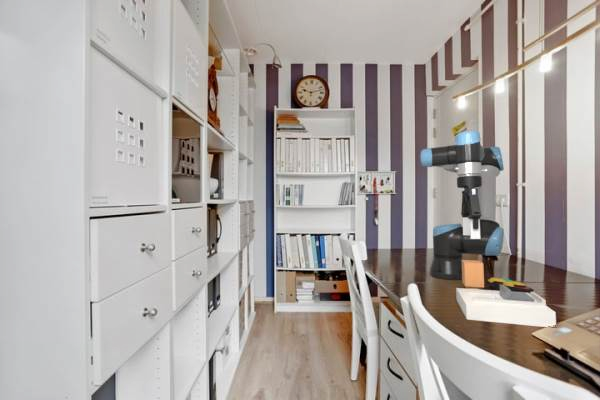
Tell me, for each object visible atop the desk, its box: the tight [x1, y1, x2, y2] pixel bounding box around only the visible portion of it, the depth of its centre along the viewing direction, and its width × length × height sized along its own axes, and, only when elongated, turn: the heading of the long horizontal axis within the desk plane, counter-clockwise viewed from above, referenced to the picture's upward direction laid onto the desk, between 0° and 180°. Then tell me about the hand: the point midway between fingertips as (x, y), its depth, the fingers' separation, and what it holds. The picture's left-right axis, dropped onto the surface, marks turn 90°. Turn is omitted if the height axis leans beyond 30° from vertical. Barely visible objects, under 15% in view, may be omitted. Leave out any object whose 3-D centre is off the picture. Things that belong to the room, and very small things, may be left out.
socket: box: [455, 287, 557, 328], centre depth 87 cm, size 18×20×6 cm
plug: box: [461, 259, 485, 290], centre depth 102 cm, size 6×6×12 cm
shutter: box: [500, 285, 534, 302], centre depth 85 cm, size 6×6×3 cm
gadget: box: [485, 276, 535, 294], centre depth 102 cm, size 6×13×6 cm, turn 74°
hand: (471, 237), depth 103 cm, fingers open, 13 cm apart
